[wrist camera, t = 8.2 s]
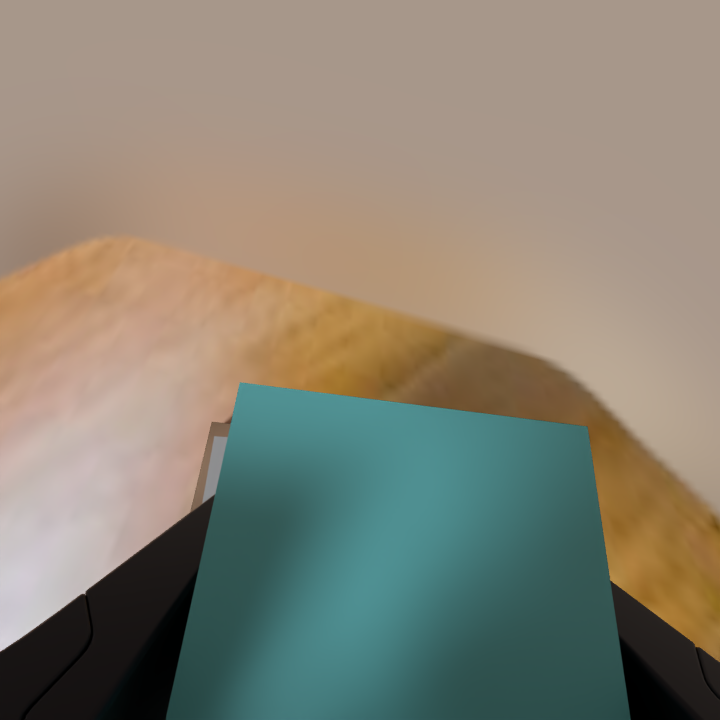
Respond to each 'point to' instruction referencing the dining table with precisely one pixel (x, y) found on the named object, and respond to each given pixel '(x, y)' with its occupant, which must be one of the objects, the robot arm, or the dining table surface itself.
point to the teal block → (400, 569)
